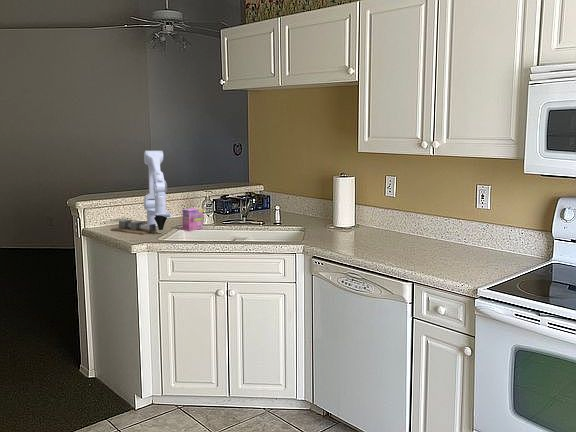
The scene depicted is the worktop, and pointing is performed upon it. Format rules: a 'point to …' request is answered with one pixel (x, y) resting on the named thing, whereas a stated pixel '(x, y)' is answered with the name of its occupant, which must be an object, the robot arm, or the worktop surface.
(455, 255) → the worktop surface
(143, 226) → the shaft
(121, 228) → the bearing board
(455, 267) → the worktop surface
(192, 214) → the box
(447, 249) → the worktop surface
